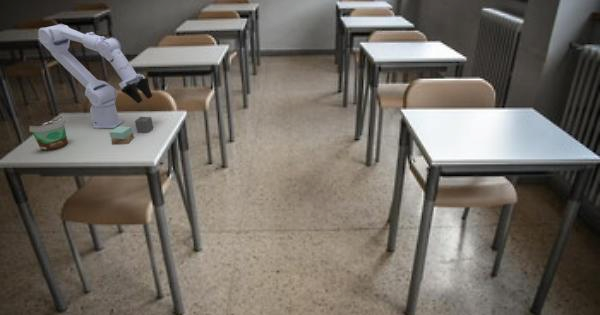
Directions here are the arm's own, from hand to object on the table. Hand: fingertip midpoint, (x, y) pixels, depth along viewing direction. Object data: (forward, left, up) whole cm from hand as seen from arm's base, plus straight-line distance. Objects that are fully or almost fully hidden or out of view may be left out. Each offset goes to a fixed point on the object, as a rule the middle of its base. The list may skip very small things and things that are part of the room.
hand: (145, 99), depth 160 cm
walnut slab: (-6, -11, -13) cm, 18 cm away
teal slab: (-6, -11, -10) cm, 17 cm away
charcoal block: (-2, -1, -12) cm, 13 cm away
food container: (-28, -18, -13) cm, 36 cm away
